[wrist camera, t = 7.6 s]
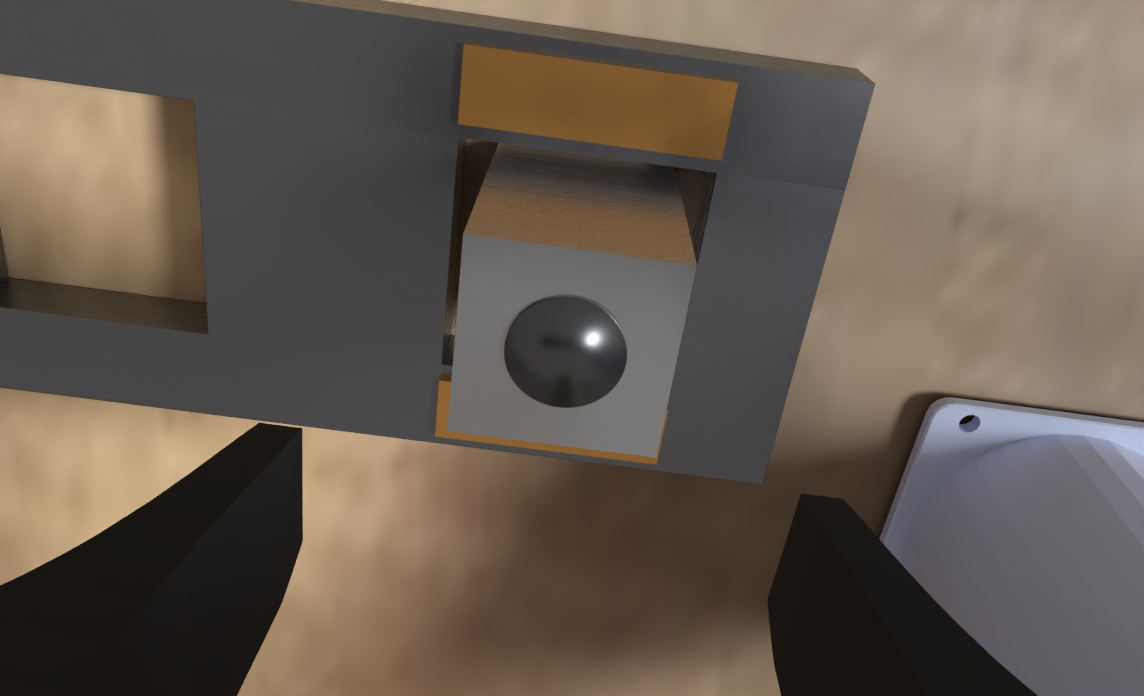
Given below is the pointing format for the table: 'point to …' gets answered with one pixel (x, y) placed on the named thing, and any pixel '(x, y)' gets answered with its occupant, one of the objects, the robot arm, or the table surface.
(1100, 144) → the table surface
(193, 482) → the robot arm
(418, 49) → the rail
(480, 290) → the nut block
